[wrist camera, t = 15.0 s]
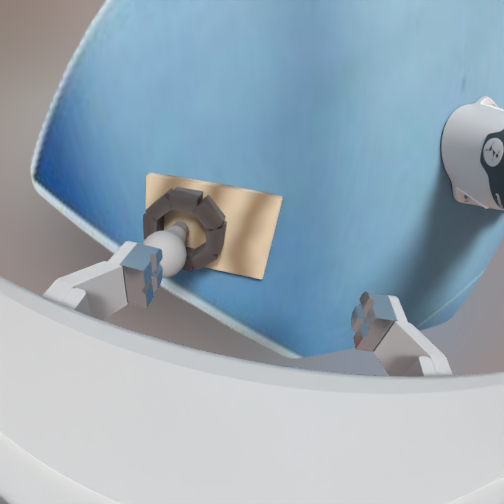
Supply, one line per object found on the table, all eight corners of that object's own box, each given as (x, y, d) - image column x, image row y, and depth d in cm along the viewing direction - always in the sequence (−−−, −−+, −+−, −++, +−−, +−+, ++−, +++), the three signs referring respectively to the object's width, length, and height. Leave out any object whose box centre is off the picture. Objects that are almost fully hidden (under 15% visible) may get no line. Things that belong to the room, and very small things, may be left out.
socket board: (282, 196, 39) (281, 208, 35) (262, 274, 46) (260, 291, 43) (150, 172, 39) (137, 182, 35) (150, 249, 46) (139, 264, 43)
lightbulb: (187, 250, 44) (163, 294, 34) (157, 227, 42) (125, 266, 33) (209, 225, 41) (187, 268, 32) (177, 200, 39) (145, 236, 30)
